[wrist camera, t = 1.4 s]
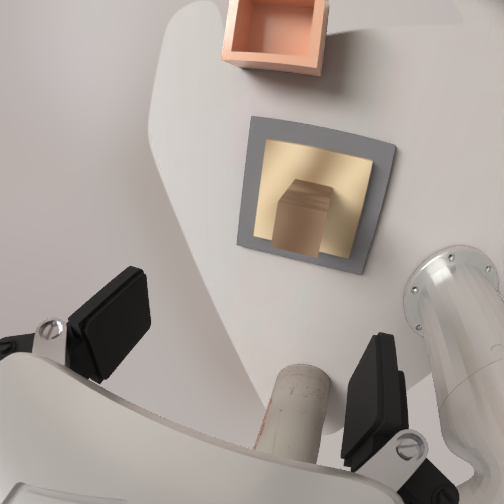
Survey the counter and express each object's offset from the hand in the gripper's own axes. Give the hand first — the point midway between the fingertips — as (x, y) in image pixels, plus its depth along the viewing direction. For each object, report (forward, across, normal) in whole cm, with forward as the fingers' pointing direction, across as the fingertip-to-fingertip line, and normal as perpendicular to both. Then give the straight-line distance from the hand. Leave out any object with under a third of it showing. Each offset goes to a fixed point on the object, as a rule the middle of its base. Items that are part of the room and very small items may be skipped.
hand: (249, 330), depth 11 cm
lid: (+20, 0, 0) cm, 20 cm away
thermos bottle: (+21, -5, +27) cm, 35 cm away
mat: (+21, 0, 0) cm, 21 cm away
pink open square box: (+21, +5, -16) cm, 27 cm away
